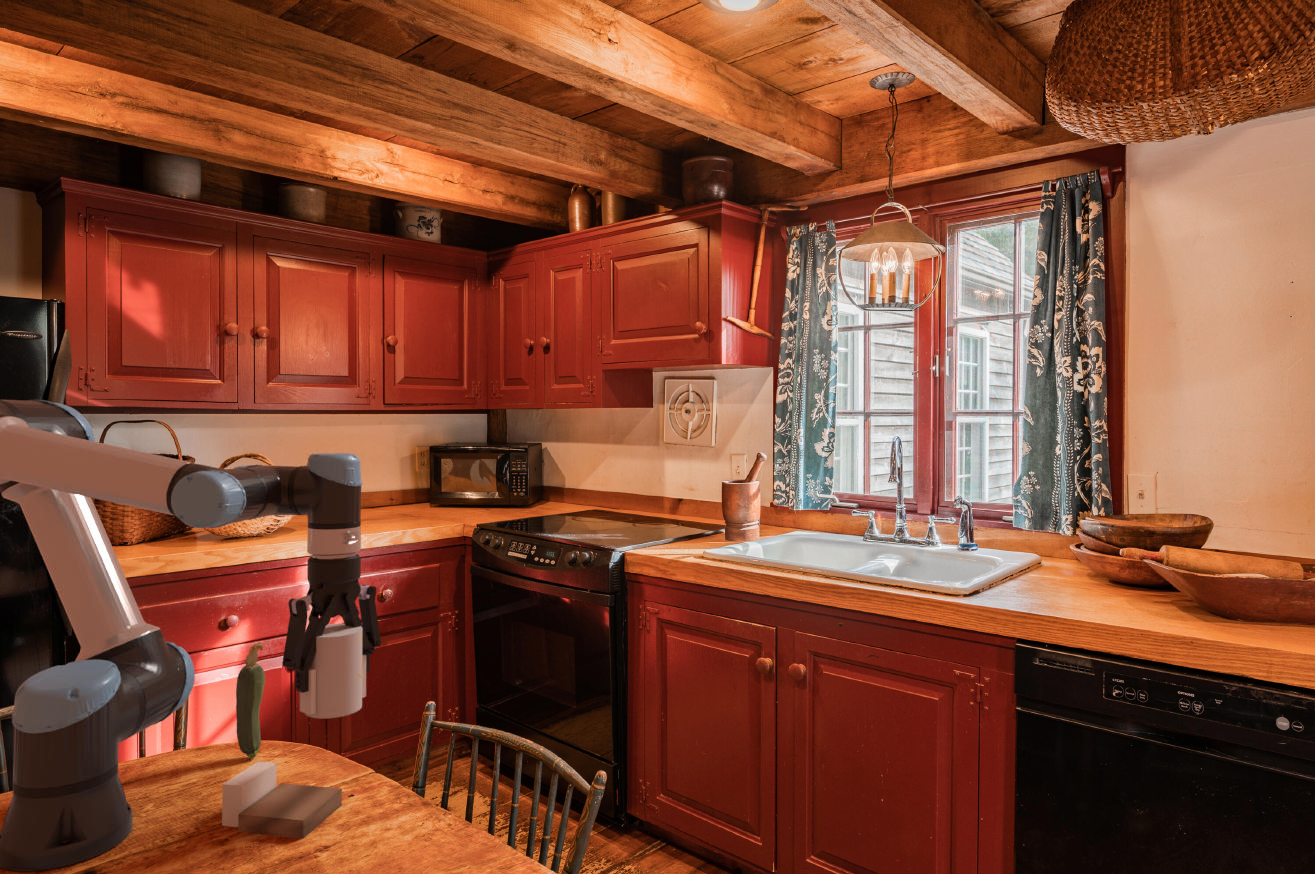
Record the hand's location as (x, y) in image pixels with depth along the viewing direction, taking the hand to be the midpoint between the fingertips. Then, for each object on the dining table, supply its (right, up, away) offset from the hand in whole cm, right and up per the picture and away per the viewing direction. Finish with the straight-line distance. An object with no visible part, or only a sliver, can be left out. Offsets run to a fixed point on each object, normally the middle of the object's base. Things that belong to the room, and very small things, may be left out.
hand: (333, 703), depth 121 cm
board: (-5, -16, -4) cm, 17 cm away
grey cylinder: (0, -1, 0) cm, 1 cm away
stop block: (-11, -15, -3) cm, 19 cm away
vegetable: (-21, -15, +17) cm, 31 cm away
